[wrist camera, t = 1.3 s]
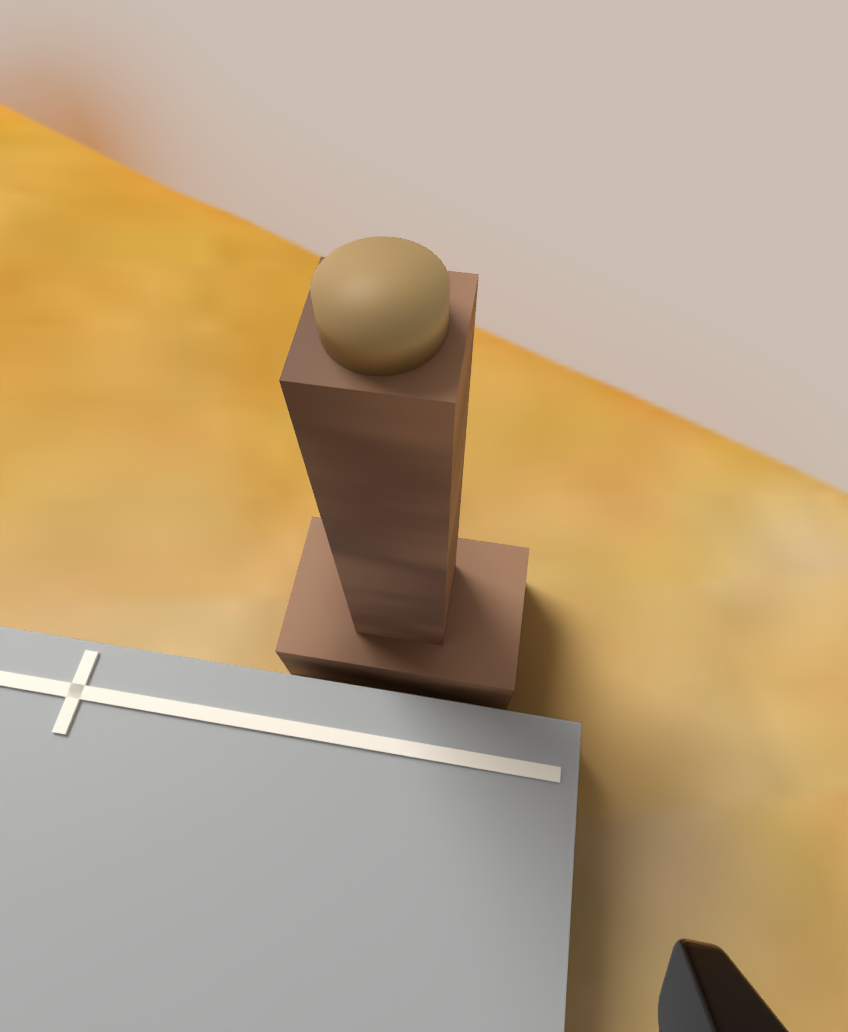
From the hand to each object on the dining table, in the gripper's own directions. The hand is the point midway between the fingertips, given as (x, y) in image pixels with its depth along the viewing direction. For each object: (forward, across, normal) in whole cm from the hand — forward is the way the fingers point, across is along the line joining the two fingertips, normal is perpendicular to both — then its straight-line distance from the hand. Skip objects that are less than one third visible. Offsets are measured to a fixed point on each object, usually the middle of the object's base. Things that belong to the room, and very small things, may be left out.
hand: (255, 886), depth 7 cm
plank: (+9, +4, +10) cm, 14 cm away
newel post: (+15, 0, +4) cm, 15 cm away
